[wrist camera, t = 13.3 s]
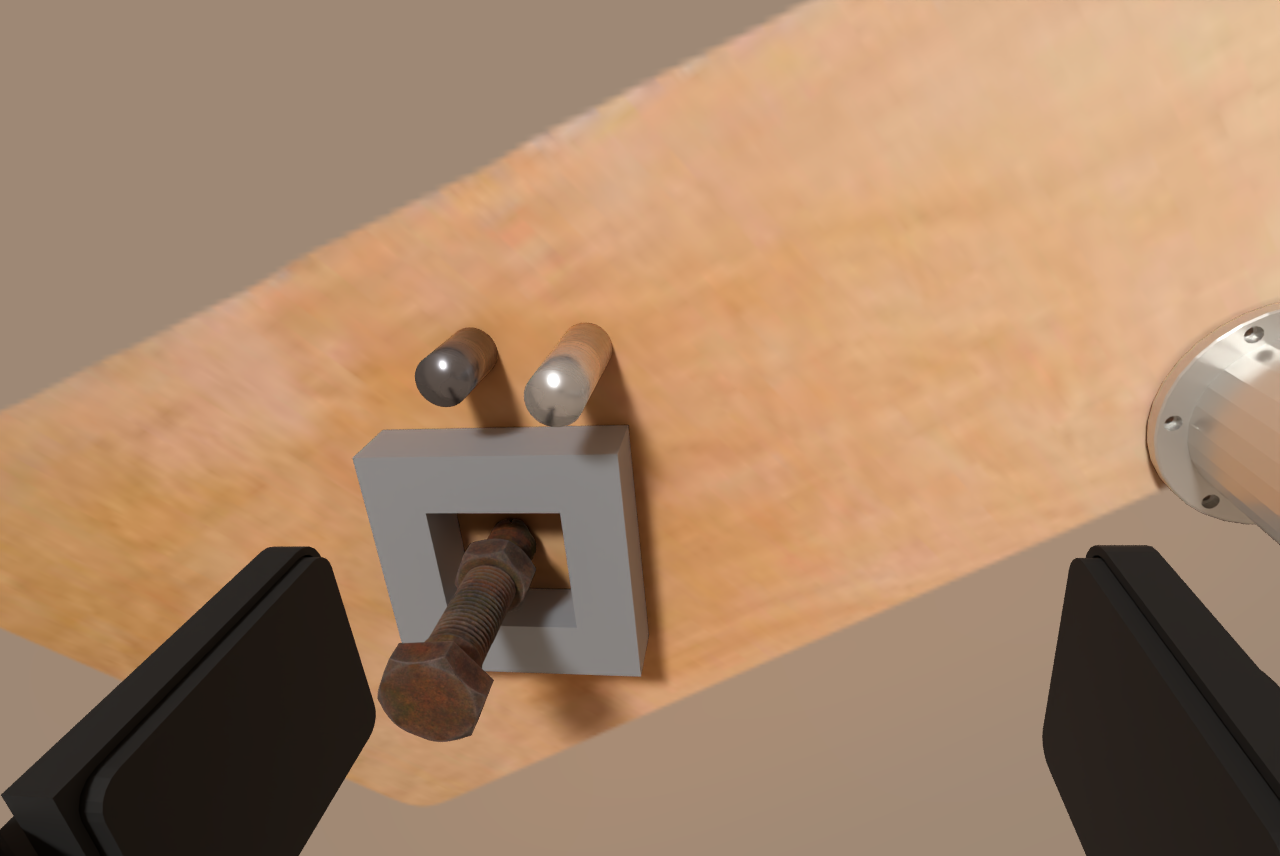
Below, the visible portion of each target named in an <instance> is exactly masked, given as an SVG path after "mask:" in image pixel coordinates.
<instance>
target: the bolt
mask: <svg viewBox="0 0 1280 856" xmlns="http://www.w3.org/2000/svg"><path fill="white" fill-rule="evenodd" d="M511 522H512V524H511V523H510V521H509V520H508V519H505V520H502V521H500V522H498V523H497V524H496V525H495V527H494V528H493V530H492V532H491V534H490V535H489V537H488V539H487V540H480V541H477V542H473V543H471V544H470V545H469V547H468V548H467V550H466V552H465V553H464V556H463V558H462V561H461V563H460V566H459V569H458V572H457V575H456V579H455V585H456V587H457V591H456V593H455V594H454V597H453V598H452V600H451V601H450V603H449V604H448V606H447V608H446V609H445V611H444V613H443V614H442V616H441V618H440V619H439V621H438V623H437V625H436V626H435V628H434V630H433V632H432V633H431V635H430V636H429V638H428V639H427V640H426V641H425V642H415V643H399V644H398V646H397V647H396V649H395V650H394V652H393V654H392V655H391V657H390V658H389V661H388V663H387V666H386V668H385V670H384V674H383V677H382V680H381V683H380V686H379V689H378V700H379V702H380V704H381V706H382V708H383V710H384V711H385V713H386V714H387V715H388V717H389V718H390V719H391V720H392V721H393V722H394V723H395V724H396V725H397V726H398V727H400V728H401V729H403V730H405V731H407V732H409V733H411V734H414V735H416V736H419V737H422V738H424V739H427V740H431V741H436V742H447V741H453V740H458V739H461V738H464V737H468V736H471V735H472V733H473V731H474V728H475V726H476V724H477V722H478V719H479V717H480V714H481V712H482V709H483V707H484V704H485V701H486V699H487V696H488V694H489V691H490V688H491V686H492V683H493V681H494V680H493V679H492V678H491V677H490V676H489V675H488V674H487V673H486V672H485V671H484V670H483V669H482V664H483V662H484V660H485V658H486V656H487V654H488V652H489V650H490V648H491V645H492V644H493V642H494V640H495V638H496V636H497V633H498V631H499V629H500V627H501V624H502V622H503V620H504V618H505V616H506V614H507V613H509V612H513V611H516V610H520V608H521V606H522V604H523V601H524V599H525V597H526V594H527V592H528V589H529V587H530V584H531V582H532V579H533V577H534V574H535V571H536V568H535V566H534V565H533V563H532V561H531V560H532V558H533V556H534V554H535V552H536V542H535V540H534V537H533V536H532V535H531V533H530V532H529V530H528V528H527V526H526V525H525V523H524V522H523V521H521V520H518V519H513V521H511Z"/></svg>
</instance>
